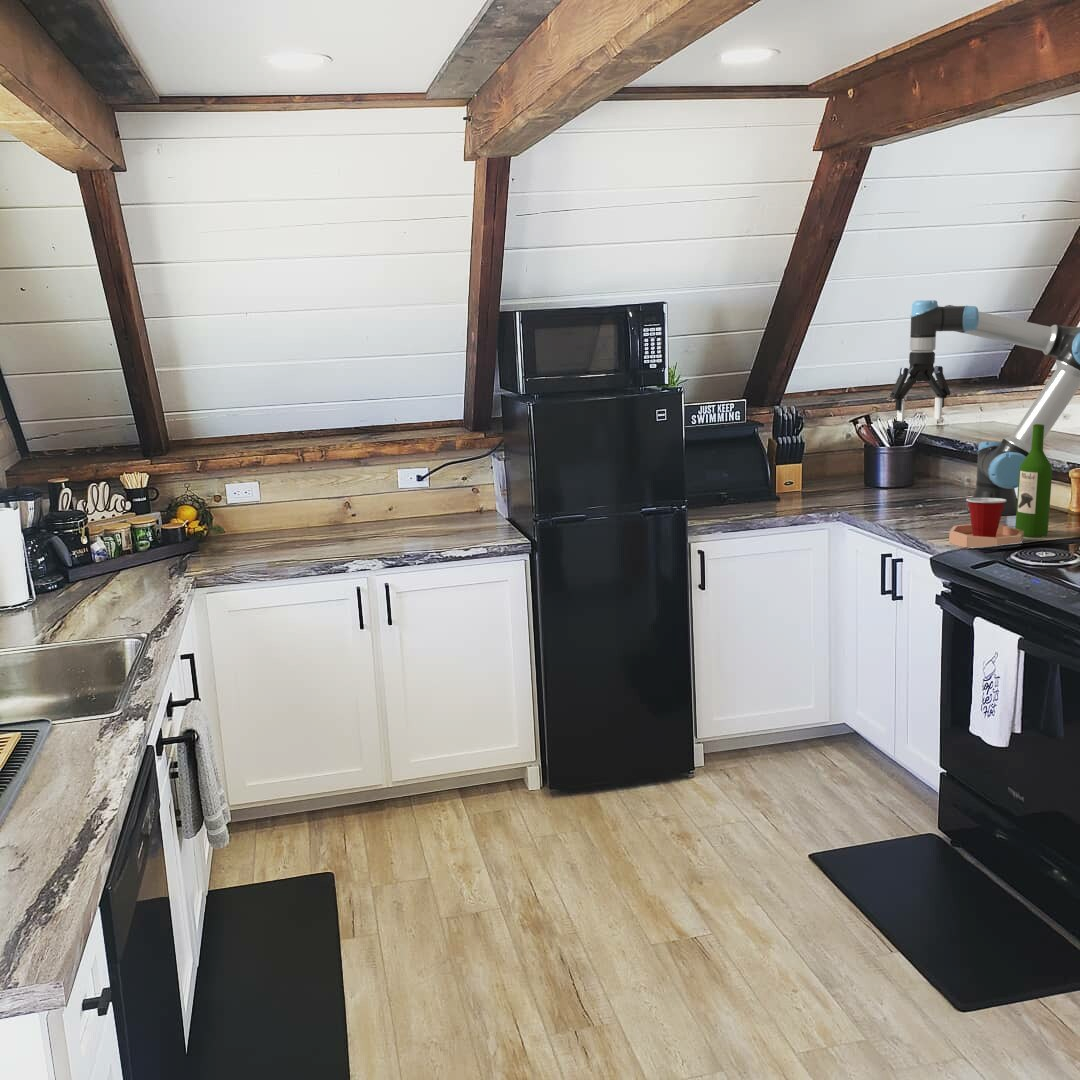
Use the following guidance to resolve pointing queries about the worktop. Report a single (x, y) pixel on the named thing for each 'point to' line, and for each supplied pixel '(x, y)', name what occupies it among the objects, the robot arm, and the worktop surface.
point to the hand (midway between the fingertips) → (919, 419)
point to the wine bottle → (1034, 489)
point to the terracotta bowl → (965, 538)
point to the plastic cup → (985, 515)
